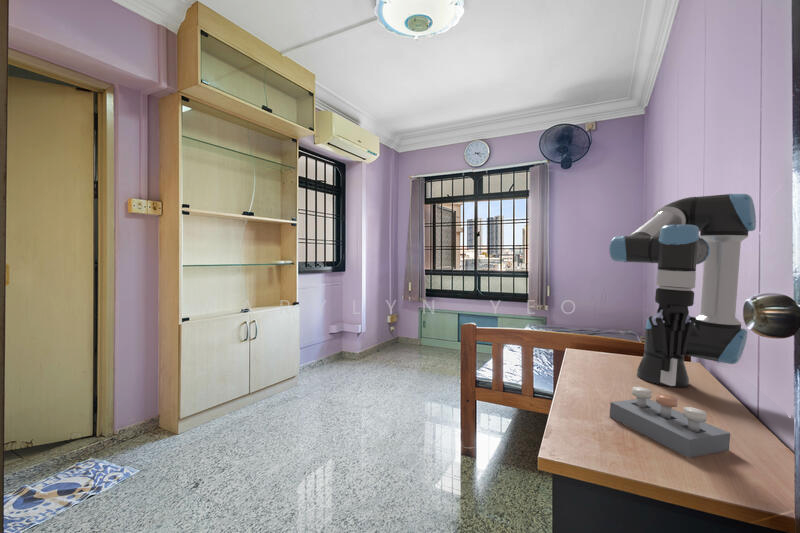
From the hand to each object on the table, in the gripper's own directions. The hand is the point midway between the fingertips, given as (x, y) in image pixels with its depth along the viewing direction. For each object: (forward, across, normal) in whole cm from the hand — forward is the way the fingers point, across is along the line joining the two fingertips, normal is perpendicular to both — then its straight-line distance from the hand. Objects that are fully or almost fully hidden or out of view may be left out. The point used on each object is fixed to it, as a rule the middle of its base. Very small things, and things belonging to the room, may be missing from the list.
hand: (667, 383), depth 89 cm
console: (+12, 0, 0) cm, 12 cm away
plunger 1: (+9, 0, -7) cm, 11 cm away
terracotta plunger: (+9, 0, 0) cm, 9 cm away
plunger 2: (+9, 0, +6) cm, 11 cm away
